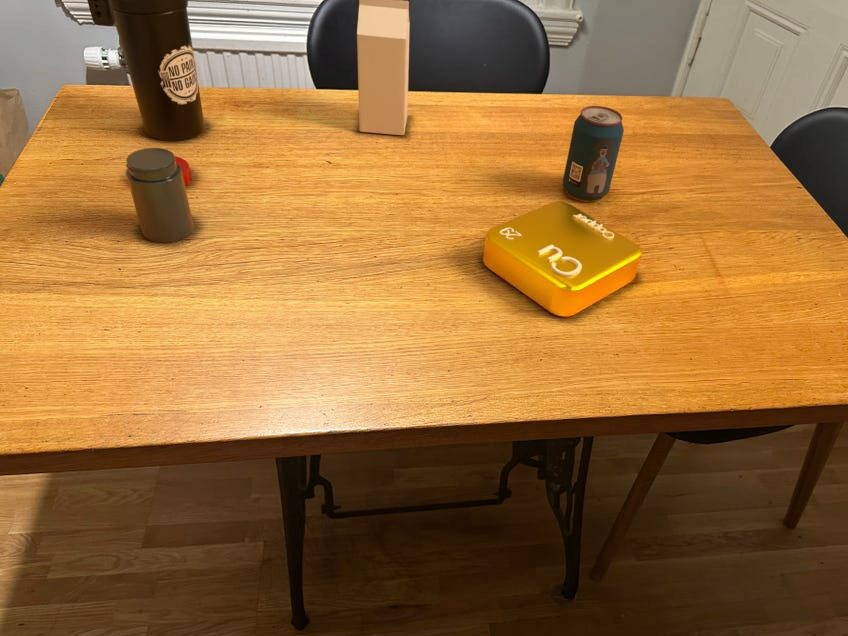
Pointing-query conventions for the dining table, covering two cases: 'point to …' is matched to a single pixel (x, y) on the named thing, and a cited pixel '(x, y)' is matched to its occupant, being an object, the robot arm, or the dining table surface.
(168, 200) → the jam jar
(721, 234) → the dining table surface
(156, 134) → the water bottle
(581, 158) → the soda can
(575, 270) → the element tile
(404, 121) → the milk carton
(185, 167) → the jar lid
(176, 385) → the dining table surface
